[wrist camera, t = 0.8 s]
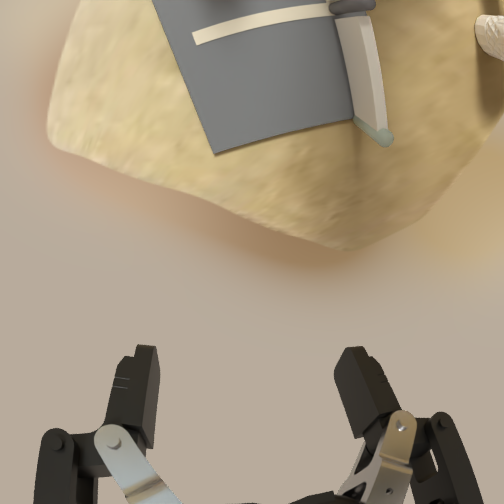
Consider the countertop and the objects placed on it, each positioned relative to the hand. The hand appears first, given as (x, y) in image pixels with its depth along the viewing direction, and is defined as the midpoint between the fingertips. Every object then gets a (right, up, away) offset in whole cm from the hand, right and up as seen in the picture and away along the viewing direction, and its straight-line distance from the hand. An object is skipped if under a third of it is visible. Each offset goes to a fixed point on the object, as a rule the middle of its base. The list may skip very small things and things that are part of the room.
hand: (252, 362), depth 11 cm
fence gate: (+11, +24, +13) cm, 29 cm away
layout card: (+2, +27, +11) cm, 29 cm away
